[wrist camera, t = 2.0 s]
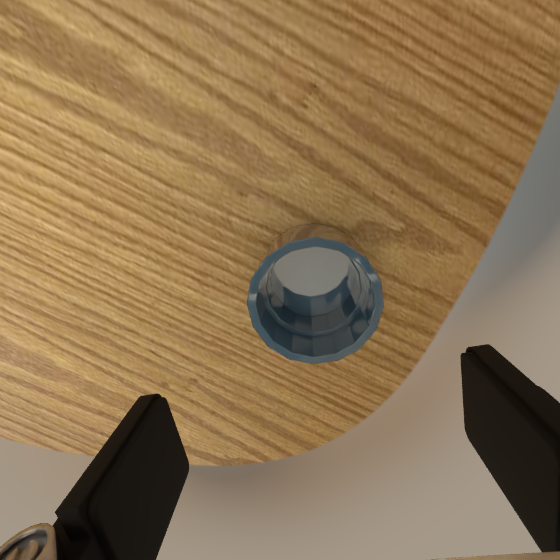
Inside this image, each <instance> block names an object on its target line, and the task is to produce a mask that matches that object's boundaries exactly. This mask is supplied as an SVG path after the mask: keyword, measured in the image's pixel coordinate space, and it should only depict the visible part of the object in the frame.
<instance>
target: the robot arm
mask: <svg viewBox="0 0 560 560" xmlns="http://www.w3.org/2000/svg"><path fill="white" fill-rule="evenodd" d="M461 373H462V389H463V407H464V423H465V431H466V434H467V437H468V439H469V441H470V442H471V444H472V445H473V447H474V448H475V450H476V451H477V453H478V455H479V456H480V458H481V459H482V460H483V462H484V464H485V465H486V467H487V468H488V470H489V471H490V473H491V474H492V476H493V478H494V479H495V481H496V482H497V484H498V485H499V487H500V488H501V490H502V491H503V493H504V495H505V496H506V498H507V499H508V501H509V502H510V504H511V505H512V507H513V508H514V510H515V511H516V513H517V515H518V516H519V518H520V519H521V521H522V522H523V524H524V525H525V527H526V528H527V530H528V531H529V533H530V535H531V536H532V537H533V539H534V541H535V542H536V544H537V545H538V547H539V548H540V550H541V551H542V553H524V554H507V555H489V556H473V557H459V558H446V559H434V560H560V403H559V402H558V401H557V400H556V399H554V398H553V397H552V396H551V395H550V394H549V393H547V392H546V391H545V390H544V389H542V388H541V387H539V386H537V385H535V384H534V383H533V382H532V381H531V380H530V379H529V378H527V377H526V376H525V375H524V374H523V373H522V372H520V371H519V370H518V369H517V368H516V367H515V366H514V365H512V364H511V363H510V362H509V361H508V360H507V359H506V358H504V357H503V356H502V355H501V354H500V353H499V352H498V351H496V350H495V349H494V348H493V347H492V346H490V345H487V344H486V345H480V346H474V347H468V348H467V349H466V353H462V354H461ZM188 472H189V462H188V458H187V456H186V453H185V450H184V447H183V444H182V442H181V439H180V436H179V433H178V430H177V427H176V425H175V422H174V419H173V416H172V413H171V411H170V408H169V405H168V402H167V400H166V398H164V397H161V395H160V394H151V395H144V396H140V397H139V398H138V399H137V401H136V402H135V403H134V405H133V406H132V408H131V409H130V410H129V412H128V413H127V414H126V416H125V417H124V418H123V420H122V421H121V423H120V424H119V425H118V427H117V428H116V429H115V431H114V432H113V434H112V435H111V436H110V438H109V439H108V440H107V442H106V443H105V444H104V446H103V447H102V449H101V450H100V451H99V453H98V454H97V455H96V457H95V458H94V460H93V461H92V462H91V464H90V465H89V466H88V468H87V469H86V470H85V472H84V473H83V475H82V476H81V477H80V479H79V480H78V481H77V483H76V484H75V486H74V487H73V488H72V490H71V491H70V492H69V494H68V495H67V496H66V498H65V499H64V500H63V502H62V503H61V505H60V506H59V507H58V509H57V510H56V511H55V513H56V515H57V517H58V519H57V520H56V522H55V523H54V525H53V526H52V525H50V524H48V523H40V524H37V525H33V526H30V527H28V528H26V529H25V530H23V531H21V532H19V533H18V534H16V535H15V536H14V537H12V538H10V539H9V540H8V541H7V542H5V543H4V544H3V545H2V546H1V547H0V560H156V558H157V555H158V552H159V550H160V547H161V544H162V542H163V539H164V536H165V534H166V531H167V528H168V526H169V523H170V520H171V518H172V515H173V512H174V510H175V507H176V505H177V502H178V499H179V496H180V493H181V491H182V489H183V486H184V483H185V480H186V478H187V475H188ZM432 560H433V559H432Z"/></svg>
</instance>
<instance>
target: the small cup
mask: <svg viewBox="0 0 560 560" xmlns="http://www.w3.org/2000/svg"><path fill="white" fill-rule="evenodd" d="M383 305H384V302H383V294H382V286H381V281H380V278H379V277H378V275H377V273H376V272H375V270H374V269H373V267H372V265H371V264H370V262H369V261H368V259H367V258H366V256H365V255H364V254H363V252H362V251H361V249H360V248H359V247H358V245H357V244H356V243H355V241H353V239H351V238H350V237H348V236H347V235H345V234H344V233H342V232H341V231H339V230H338V229H336V228H334V227H329V226H324V225H319V224H307V225H302V226H297V227H292V228H290V229H289V230H287V231H286V232H284V233H283V234H281V235H280V236H278V237H277V238H275V239H274V240H273V241H272V243H271V244H270V246H269V247H268V249H267V250H266V252H265V253H264V255H263V256H262V258H261V260H260V262H259V264H258V266H257V268H256V270H255V272H254V274H253V276H252V278H251V282H250V288H249V294H248V300H247V306H248V310H249V313H250V317H251V321H252V325H253V328H254V329H255V330H256V332H257V333H258V334H259V335H260V337H261V338H262V339H263V341H264V342H265V343H266V345H267V346H268V347H270V348H271V349H273V350H274V351H276V352H278V353H279V354H281V355H283V356H284V357H286V358H287V359H290V360H295V361H300V362H305V363H309V364H318V363H325V362H332V361H338V360H340V359H342V358H344V357H346V356H348V355H349V354H351V353H353V352H355V351H357V350H359V349H360V348H361V347H362V346H363V345H364V344H365V342H366V341H367V340H368V339H369V338H370V337H371V335H372V334H373V333H374V332H375V331H376V329H377V326H378V323H379V320H380V317H381V313H382V310H383V307H384V306H383Z"/></svg>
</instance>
